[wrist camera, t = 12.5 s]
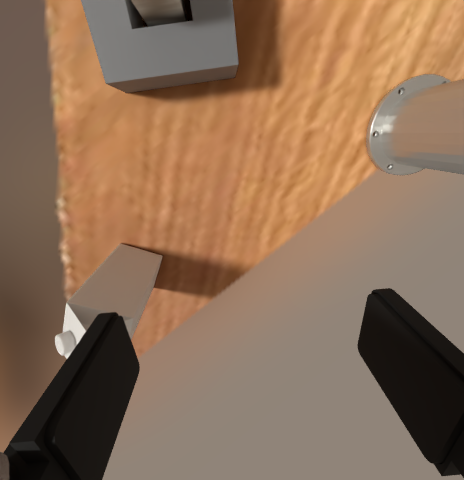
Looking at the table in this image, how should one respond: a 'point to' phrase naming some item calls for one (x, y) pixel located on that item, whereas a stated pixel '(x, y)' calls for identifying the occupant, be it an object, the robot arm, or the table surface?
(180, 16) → the peg
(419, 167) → the robot arm
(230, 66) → the socket block
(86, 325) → the milk carton
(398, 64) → the table surface
